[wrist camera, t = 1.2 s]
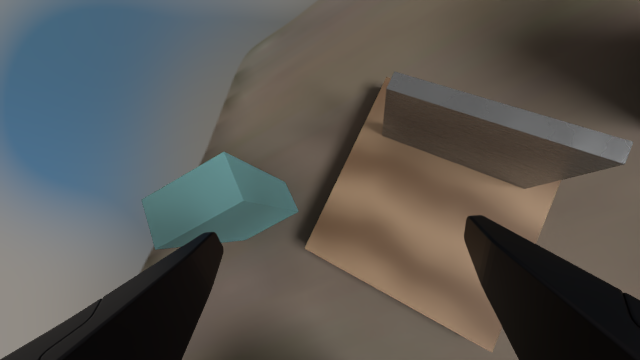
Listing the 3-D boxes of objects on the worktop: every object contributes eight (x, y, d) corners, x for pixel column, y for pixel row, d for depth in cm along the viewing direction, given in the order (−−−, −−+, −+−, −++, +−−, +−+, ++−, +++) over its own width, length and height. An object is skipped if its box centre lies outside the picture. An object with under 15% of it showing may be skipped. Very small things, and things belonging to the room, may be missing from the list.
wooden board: (480, 340, 20) (491, 352, 18) (309, 246, 24) (304, 248, 22) (560, 143, 21) (579, 135, 19) (385, 88, 25) (386, 77, 24)
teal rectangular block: (298, 211, 25) (243, 200, 14) (244, 240, 26) (154, 249, 15) (285, 182, 26) (223, 151, 15) (233, 210, 27) (140, 200, 16)
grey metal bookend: (524, 188, 19) (624, 164, 12) (382, 135, 23) (386, 88, 15) (546, 135, 20) (657, 77, 12) (403, 90, 23) (418, 21, 15)
